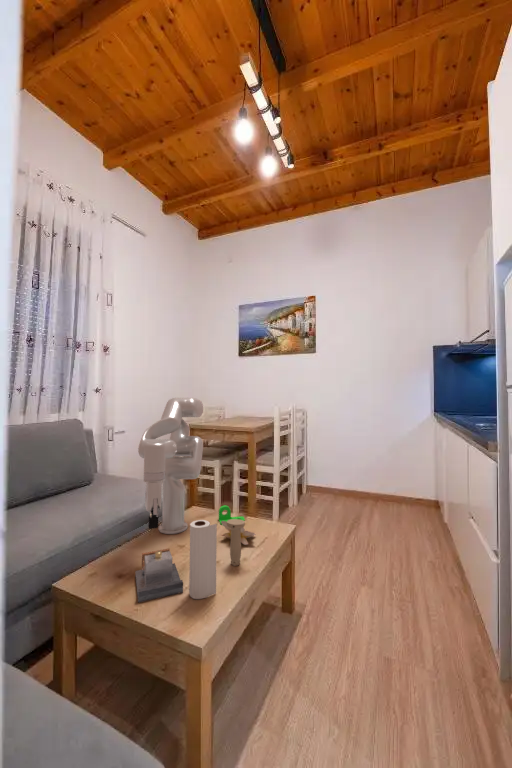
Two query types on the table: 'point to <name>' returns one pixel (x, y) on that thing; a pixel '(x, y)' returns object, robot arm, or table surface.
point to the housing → (158, 568)
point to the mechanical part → (227, 515)
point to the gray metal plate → (158, 586)
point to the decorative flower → (243, 533)
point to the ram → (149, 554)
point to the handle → (235, 540)
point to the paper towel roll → (202, 559)
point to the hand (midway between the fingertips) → (153, 527)
